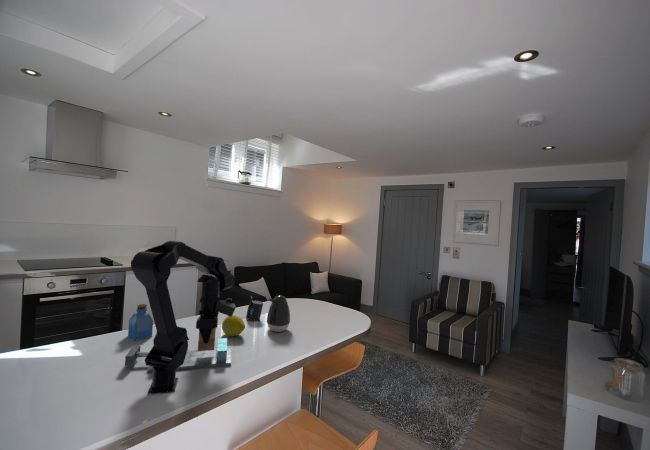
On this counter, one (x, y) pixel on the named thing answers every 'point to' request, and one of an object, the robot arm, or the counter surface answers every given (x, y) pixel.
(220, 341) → the vise
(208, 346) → the walnut block
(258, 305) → the speaker
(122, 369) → the counter surface
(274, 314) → the pump dispenser
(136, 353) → the vise jaw
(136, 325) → the perfume bottle
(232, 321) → the lemon
